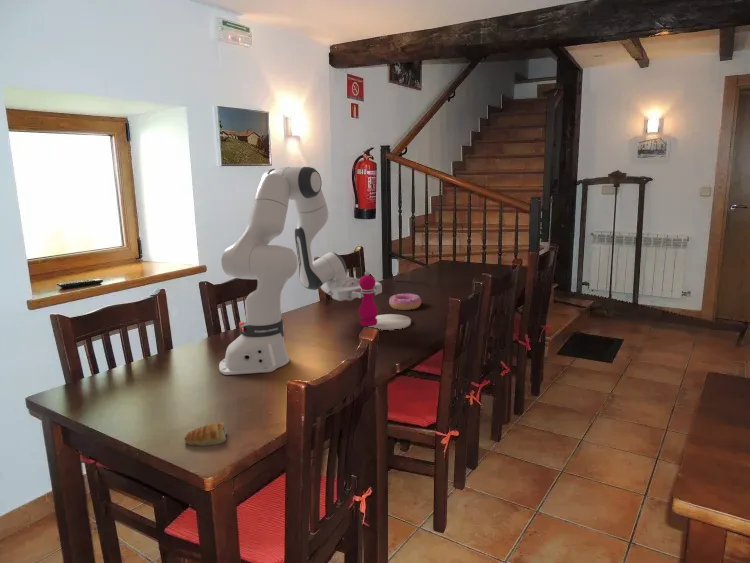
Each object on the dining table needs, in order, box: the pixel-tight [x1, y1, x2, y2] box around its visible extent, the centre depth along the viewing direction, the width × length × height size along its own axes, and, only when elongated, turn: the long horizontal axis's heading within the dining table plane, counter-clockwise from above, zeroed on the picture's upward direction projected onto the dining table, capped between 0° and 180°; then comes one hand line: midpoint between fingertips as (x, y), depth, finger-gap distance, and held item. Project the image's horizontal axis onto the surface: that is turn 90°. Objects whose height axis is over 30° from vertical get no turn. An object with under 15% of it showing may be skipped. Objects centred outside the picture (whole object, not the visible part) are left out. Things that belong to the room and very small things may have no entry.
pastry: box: [183, 421, 227, 447], centre depth 126 cm, size 9×7×4 cm
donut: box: [388, 293, 422, 311], centre depth 240 cm, size 14×14×5 cm
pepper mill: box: [358, 270, 379, 327], centre depth 197 cm, size 7×7×20 cm
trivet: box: [367, 313, 412, 331], centre depth 214 cm, size 18×18×2 cm
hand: (369, 294), depth 196 cm, fingers closed on pepper mill, 5 cm apart
